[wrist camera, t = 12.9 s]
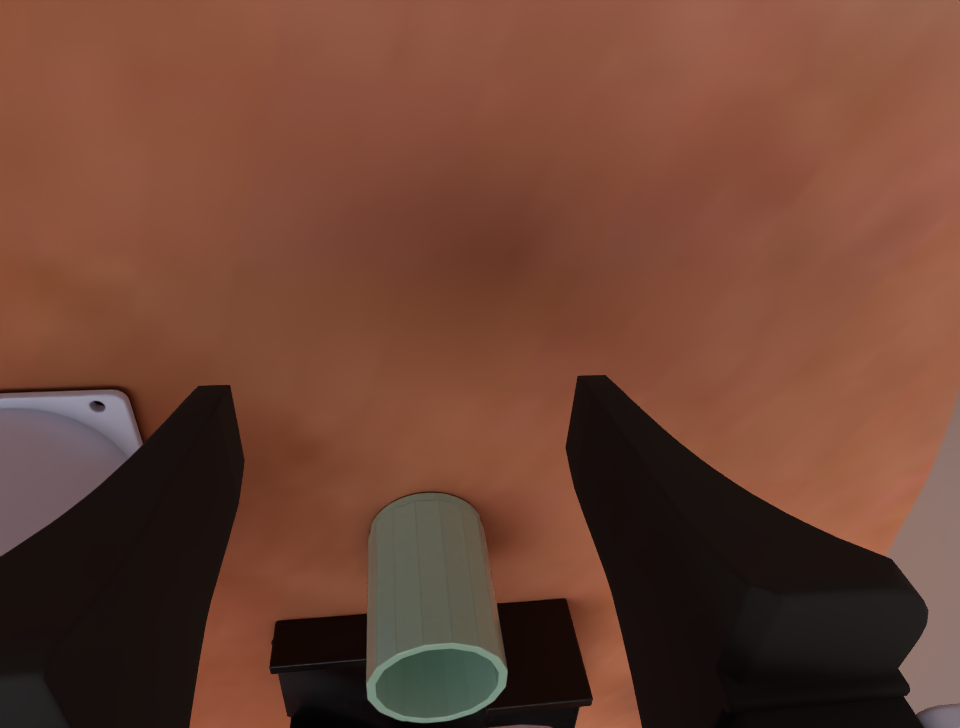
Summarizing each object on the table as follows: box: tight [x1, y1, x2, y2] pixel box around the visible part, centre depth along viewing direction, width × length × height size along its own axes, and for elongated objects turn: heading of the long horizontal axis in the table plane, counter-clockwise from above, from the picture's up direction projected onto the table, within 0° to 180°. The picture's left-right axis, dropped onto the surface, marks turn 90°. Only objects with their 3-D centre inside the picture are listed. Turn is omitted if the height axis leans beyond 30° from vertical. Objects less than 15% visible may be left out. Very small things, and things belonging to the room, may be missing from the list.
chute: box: [271, 640, 580, 728], centre depth 35 cm, size 15×7×5 cm, turn 88°
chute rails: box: [269, 599, 593, 728], centre depth 35 cm, size 15×8×6 cm, turn 88°
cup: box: [366, 493, 508, 723], centre depth 28 cm, size 5×5×8 cm
